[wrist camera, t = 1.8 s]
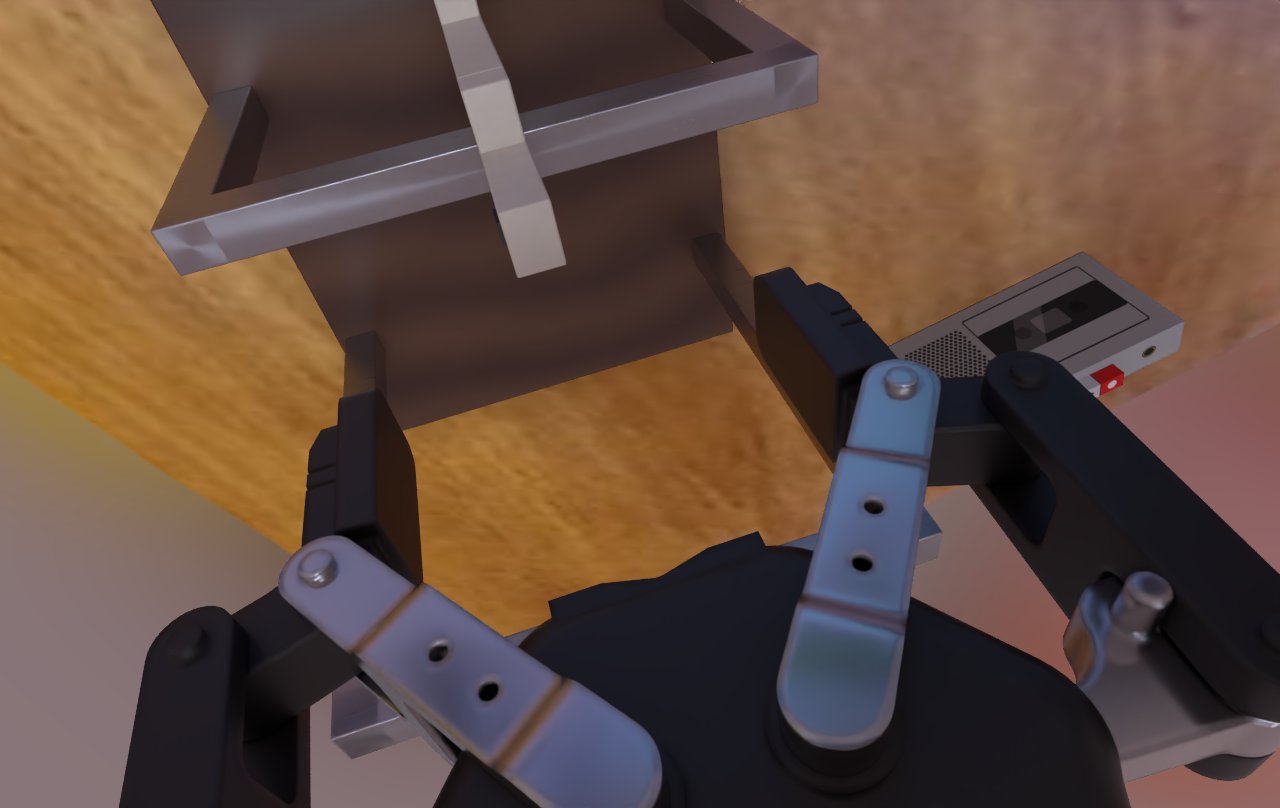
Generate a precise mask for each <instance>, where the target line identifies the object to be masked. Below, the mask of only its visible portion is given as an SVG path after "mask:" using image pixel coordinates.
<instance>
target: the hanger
mask: <svg viewBox="0 0 1280 808" xmlns="http://www.w3.org/2000/svg"><path fill="white" fill-rule="evenodd" d="M434 3H435V6H436V9H437V12H438V16H439V19H440V22H441V25H442V29H443V32H444V36H445V39H446V43H447V46H448V50H449V53H450V57H451V60H452V64H453V67H454V71H455V74H456V78H457V81H458V85H459V88H460V92H461V95H462V98H463V102H464V105H465V108H466V111H467V114H468V117H469V121H470V124H471V127H472V130H473V133H474V137H475V140H476V143H477V146H478V149H479V152H480V156H481V159H482V163H483V166H484V170H485V173H486V177H487V180H488V183H489V187H490V190H491V194H492V197H493V201H494V204H495V208H494V209H493V210H492V211H493V215H494V218H495V222H496V225H497V228H498V232H499V235H500V238H501V241H502V244H503V246H508V249H509V253H510V256H511V259H512V262H513V265H514V268H515V272H516V275H517V277H518V278H521V277H525V276H528V275H532V274H535V273H539V272H542V271H546V270H549V269H553V268H556V267H560V266H563V265H566V259H565V255H564V251H563V247H562V243H561V239H560V235H559V231H558V228H557V224H556V220H555V216H554V212H553V208H552V204H551V200H550V198H549V196H548V193H547V191H546V188H545V186H544V184H543V181H542V179H541V177H540V174H539V172H538V169H537V167H536V165H535V162H534V160H533V158H532V155H531V153H530V150H529V148H528V146H527V144H526V140H525V136H524V133H523V129H522V125H521V121H520V118H519V114H518V110H517V106H516V103H515V99H514V95H513V91H512V88H511V84H510V81H509V78H508V76H507V74H506V72H505V70H504V67H503V65H502V63H501V60H500V58H499V56H498V54H497V51H496V49H495V47H494V45H493V43H492V40H491V38H490V36H489V34H488V31H487V29H486V27H485V25H484V23H483V20H482V18H481V16H480V12H479V8H478V5H477V1H476V0H434Z"/></svg>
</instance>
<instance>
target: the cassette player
mask: <svg viewBox="0 0 1280 808" xmlns="http://www.w3.org/2000/svg"><path fill="white" fill-rule="evenodd" d="M1184 322H1185V321H1184V320H1183V319H1181V318H1180V317H1178V316H1177V315H1175V314H1174V313H1172V312H1171V311H1169V310H1168V309H1166V308H1165V307H1164V306H1162V305H1161V304H1159V303H1158V302H1156V301H1155V300H1153V299H1152V298H1150V297H1149V296H1147V295H1146V294H1144V293H1143V292H1142V291H1140V290H1139V289H1137V288H1136V287H1134V286H1133V285H1131V284H1130V283H1128V282H1127V281H1125V280H1124V279H1122V278H1121V277H1120V276H1118V275H1117V274H1115V273H1114V272H1112V271H1111V270H1109V269H1108V268H1106V267H1105V266H1103V265H1102V264H1101V263H1099V262H1098V261H1096V260H1095V259H1093V258H1092V257H1090V256H1089V255H1087V254H1086V253H1084V252H1081V253H1079V254H1077V255H1075V256H1073V257H1071V258H1069V259H1067V260H1065V261H1063V262H1061V263H1059V264H1057V265H1055V266H1053V267H1050V268H1048V269H1046V270H1044V271H1042V272H1040V273H1038V274H1036V275H1034V276H1032V277H1030V278H1028V279H1026V280H1024V281H1022V282H1020V283H1018V284H1016V285H1014V286H1012V287H1010V288H1007V289H1005V290H1003V291H1001V292H999V293H997V294H995V295H993V296H991V297H989V298H987V299H985V300H983V301H981V302H979V303H977V304H975V305H973V306H971V307H969V308H967V309H965V310H962V311H960V312H958V313H956V314H954V315H952V316H950V317H948V318H946V319H944V320H942V321H940V322H938V323H936V324H934V325H932V326H930V327H928V328H926V329H924V330H922V331H920V332H917V333H915V334H913V335H911V336H909V337H907V338H905V339H903V340H901V341H899V342H897V343H895V344H893V345H891V346H889V348H890V349H891V351H892V352H893V353H894V354H895V355H896V356H897V357H898V358H899V359H906V360H912V361H915V362H919V363H921V364H924V365H925V366H927V367H929V368H930V369H932V370H933V371H934V372H935V373H936V374H937V376H938V377H943V378H953V377H969V376H984V375H985V370H986V367H987V365H988V363H989V362H990V361H991V360H992V359H993V358H994V357H996V356H998V355H1000V354H1003V353H1006V352H1011V351H1029V352H1035V353H1040V354H1043V355H1046V356H1048V357H1050V358H1052V359H1054V360H1056V361H1057V362H1059V363H1060V364H1061V365H1062V366H1064V367H1065V368H1066V369H1067V370H1068V371H1069V372H1070V373H1071V374H1072V375H1073V376H1074V377H1075V378H1076V379H1077V380H1078V381H1079V382H1080V383H1081V384H1082V385H1083V386H1084V387H1085V388H1086V389H1087V390H1088V391H1090V392H1091V393H1092V394H1093V395H1094V396H1095V397H1098V396H1100V395H1103V394H1105V393H1107V392H1109V391H1111V390H1113V389H1115V388H1117V387H1119V386H1121V385H1123V381H1124V377H1125V376H1127V375H1129V374H1131V373H1133V372H1135V371H1137V370H1139V369H1141V368H1143V367H1146V366H1148V365H1150V364H1152V363H1154V362H1156V361H1158V360H1160V359H1162V358H1164V357H1166V356H1169V355H1171V354H1173V353H1175V352H1177V351H1179V346H1180V341H1181V337H1182V332H1183V327H1184Z"/></svg>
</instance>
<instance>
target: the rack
mask: <svg viewBox="0 0 1280 808" xmlns="http://www.w3.org/2000/svg"><path fill="white" fill-rule="evenodd" d="M476 1H477V5H478V8H479V12H480V16H481V18H482V20H483V23H484V25H485V27H486V29H487V31H488V34H489V36H490V38H491V40H492V43H493V45H494V47H495V49H496V51H497V54H498V56H499V58H500V60H501V63H502V65H503V67H504V70H505V72H506V74H507V76H508V78H509V81H510V84H511V88H512V91H513V95H514V99H515V103H516V106H517V110H518V114H519V118H520V121H521V125H522V129H523V133H524V136H525V140H526V144H527V146H528V148H529V150H530V153H531V155H532V158H533V160H534V162H535V165H536V167H537V169H538V172H539V174H540V177H541V179H542V181H543V184H544V186H545V188H546V191H547V193H548V196H549V198H550V200H551V204H552V208H553V212H554V216H555V220H556V224H557V228H558V231H559V235H560V239H561V243H562V247H563V251H564V255H565V259H566V265H563V266H560V267H556V268H553V269H549V270H546V271H542V272H539V273H535V274H532V275H528V276H525V277H521V278H518V277H517V275H516V272H515V268H514V265H513V262H512V259H511V256H510V253H509V249H508V246H503V244H502V241H501V238H500V235H499V232H498V228H497V225H496V222H495V218H494V215H493V211H492V210H493V209H494V208H495V204H494V201H493V197H492V194H491V190H490V187H489V183H488V180H487V177H486V173H485V170H484V166H483V163H482V159H481V156H480V152H479V149H478V146H477V143H476V140H475V137H474V133H473V130H472V127H471V124H470V121H469V117H468V114H467V111H466V108H465V105H464V102H463V98H462V95H461V92H460V88H459V85H458V81H457V78H456V74H455V71H454V67H453V64H452V60H451V57H450V53H449V50H448V46H447V43H446V39H445V36H444V32H443V29H442V25H441V22H440V19H439V16H438V12H437V9H436V6H435V3H434V0H151V2H152V4H153V6H154V8H155V9H156V11H157V13H158V15H159V17H160V18H161V20H162V22H163V24H164V26H165V28H166V29H167V31H168V33H169V35H170V37H171V38H172V40H173V42H174V44H175V46H176V48H177V49H178V51H179V53H180V55H181V57H182V58H183V60H184V62H185V64H186V66H187V67H188V69H189V71H190V73H191V75H192V77H193V78H194V80H195V82H196V84H197V86H198V87H199V89H200V91H201V93H202V95H203V96H204V98H205V100H206V102H207V104H208V106H209V107H208V109H207V111H206V113H205V115H204V118H203V120H202V122H201V124H200V126H199V128H198V131H197V133H196V135H195V137H194V139H193V141H192V144H191V146H190V148H189V150H188V152H187V154H186V157H185V159H184V161H183V163H182V165H181V167H180V170H179V172H178V174H177V176H176V178H175V180H174V183H173V185H172V187H171V189H170V191H169V193H168V196H167V198H166V200H165V202H164V204H163V206H162V208H161V209H160V212H159V214H158V216H157V218H156V220H155V222H154V225H153V227H152V229H151V233H152V235H153V236H154V238H155V239H156V241H157V242H158V243H159V245H160V246H161V248H162V249H163V251H164V252H165V254H166V255H167V257H168V258H169V260H170V261H171V262H172V264H173V265H174V267H175V268H176V270H177V271H178V273H179V274H180V275H181V276H183V275H187V274H190V273H194V272H198V271H201V270H205V269H209V268H212V267H216V266H220V265H223V264H227V263H231V262H234V261H238V260H242V259H245V258H249V257H253V256H256V255H260V254H264V253H267V252H271V251H275V250H278V249H282V248H286V247H287V249H288V251H289V252H290V254H291V256H292V258H293V260H294V262H295V263H296V265H297V267H298V269H299V271H300V272H301V274H302V276H303V278H304V280H305V282H306V283H307V285H308V287H309V289H310V291H311V292H312V294H313V296H314V298H315V300H316V301H317V303H318V305H319V307H320V309H321V311H322V312H323V314H324V316H325V318H326V320H327V321H328V323H329V325H330V327H331V329H332V330H333V332H334V334H335V336H336V338H337V340H338V341H339V343H340V345H341V347H342V349H343V350H344V352H345V367H344V394H343V397H346V396H349V395H353V394H356V393H359V392H363V391H366V390H369V389H373V388H378V389H379V390H380V391H381V392H382V394H383V396H384V398H385V400H386V401H387V403H388V405H389V407H390V409H391V411H392V413H393V415H394V417H395V418H396V420H397V422H398V424H399V426H400V428H401V430H402V431H403V430H407V429H410V428H413V427H417V426H420V425H423V424H426V423H430V422H433V421H436V420H440V419H443V418H446V417H450V416H453V415H456V414H460V413H463V412H466V411H470V410H473V409H476V408H480V407H483V406H486V405H490V404H493V403H496V402H500V401H503V400H506V399H510V398H513V397H516V396H519V395H523V394H526V393H529V392H533V391H536V390H539V389H543V388H546V387H549V386H553V385H556V384H559V383H563V382H566V381H569V380H573V379H576V378H579V377H583V376H586V375H589V374H593V373H596V372H599V371H602V370H606V369H609V368H612V367H616V366H619V365H622V364H626V363H629V362H632V361H636V360H639V359H642V358H646V357H649V356H652V355H656V354H659V353H662V352H666V351H669V350H672V349H676V348H679V347H682V346H685V345H689V344H692V343H695V342H699V341H702V340H705V339H709V338H712V337H715V336H719V335H722V334H725V333H729V332H732V331H733V323H732V321H733V322H734V324H735V325H736V327H737V328H738V330H739V331H740V333H741V334H742V336H743V337H744V339H745V341H746V342H747V344H748V345H749V347H750V348H751V350H752V351H753V353H754V354H755V356H756V357H757V359H758V360H759V362H760V363H761V365H762V366H763V368H764V369H765V371H766V373H767V374H768V376H769V377H770V379H771V380H772V382H773V383H774V385H775V386H776V388H777V389H778V391H779V392H780V394H781V395H782V397H783V398H784V400H785V402H786V403H787V405H788V406H789V408H790V409H791V411H792V412H793V414H794V415H795V417H796V418H797V420H798V421H799V423H800V424H801V426H802V427H803V429H804V430H805V432H806V434H807V435H808V437H809V438H810V440H811V441H812V443H813V444H814V446H815V447H816V449H817V450H818V452H819V453H820V455H821V456H822V458H823V459H824V461H825V463H826V464H827V466H828V467H829V469H830V470H831V472H832V473H833V474H834V470H835V467H836V463H837V462H834V463H833V462H832V461H831V459H830V458H829V457H828V455H827V454H826V452H825V451H824V449H823V448H822V446H821V445H820V443H819V442H818V440H817V439H816V437H815V436H814V434H813V433H812V431H811V430H810V428H809V427H808V425H807V424H806V422H805V421H804V419H803V418H802V416H801V415H800V413H799V412H798V410H797V409H796V407H795V406H794V404H793V403H792V401H791V400H790V398H789V397H788V395H787V394H786V392H785V391H784V389H783V388H782V386H781V385H780V383H779V382H778V380H777V379H776V377H775V376H774V374H773V373H772V372H771V370H770V369H769V367H768V366H767V364H766V363H765V361H764V359H763V357H762V355H761V352H760V349H759V346H758V342H757V337H756V324H755V307H754V290H753V282H754V279H753V278H752V277H751V275H750V274H749V273H748V271H747V270H746V269H745V267H744V266H743V265H742V263H741V262H740V261H739V259H738V258H737V257H736V255H735V254H734V253H733V251H732V250H731V249H730V247H729V246H728V245H727V243H726V239H725V227H724V215H723V203H722V191H721V179H720V167H719V155H718V143H717V131H716V130H719V129H723V128H727V127H730V126H734V125H738V124H741V123H745V122H749V121H752V120H756V119H760V118H763V117H767V116H771V115H774V114H778V113H782V112H786V111H789V110H793V109H797V108H800V107H804V106H808V105H811V104H815V103H817V102H818V54H817V53H816V52H814V51H812V50H811V49H809V48H808V47H806V46H805V45H803V44H802V43H800V42H799V41H797V40H795V39H794V38H792V37H791V36H789V35H788V34H786V33H785V32H783V31H781V30H780V29H778V28H777V27H775V26H774V25H772V24H771V23H769V22H768V21H766V20H764V19H763V18H761V17H760V16H758V15H757V14H755V13H754V12H752V11H750V10H749V9H747V8H746V7H744V6H743V5H741V4H740V3H738V2H737V1H735V0H476ZM711 60H712V61H713V62H714V63H712V64H711ZM942 534H943V532H942V530H941V529H940V528H939V526H938V525H937V524H936V522H935V521H934V520H933V518H932V517H931V516H930V514H929V513H928V512H927V510H926V509H925V508H923V515H922V522H921V529H920V535H919V542H918V549H917V556H916V562H915V566H916V565H919V564H922V563H925V562H927V561H931V560H933V559H936V558H937V557H938V553H939V547H940V543H941V538H942ZM817 536H818V533H815V534H812V535H809V536H806V537H803V538H800V539H797V540H794V541H791V542H788V543H785V544H782V545H779V546H793V547H800V548H805V549H809V550H813V551H814V547H815V543H816V540H817ZM539 626H540V625H539ZM539 626H536V627H533V628H530V629H527V630H524V631H521V632H518V633H515V634H512V635H509V636H506V637H505V638H506V639H508V640H509V641H510V642H512V643H513V644H515V645H516V646H519V644H520V643H521V642H522V641H523V640H524V639H525V638H526V637H527V636H528V635H529V634H530V633H531V632H532V631H533V630H535V629H536V628H537V627H539ZM418 736H420V735H419V734H418V733H417V732H416V731H414V730H413V729H412V728H411V727H410V726H409V725H408V724H407V723H406V722H404V721H403V720H402V719H401V718H400V717H399V716H398V715H396V714H395V713H394V712H393V711H392V710H391V709H389V708H388V707H387V706H386V705H385V704H384V703H383V702H381V701H380V700H379V699H378V698H377V697H376V696H375V695H373V694H372V693H371V692H370V691H369V690H368V689H367V688H365V687H364V686H363V685H362V684H361V683H360V682H359V681H357V680H356V679H355V678H352V679H351V680H349V681H348V682H346V683H345V684H343V685H342V686H340V687H339V688H337V689H336V690H334V691H332V718H331V741H332V742H333V743H334V744H336V745H337V746H338V747H339V748H340V749H341V750H342V751H343V752H344V753H345V754H346V755H347V756H348V757H349V758H350V759H354V758H357V757H360V756H363V755H366V754H369V753H372V752H374V751H377V750H380V749H383V748H386V747H389V746H392V745H395V744H397V743H400V742H403V741H406V740H409V739H412V738H415V737H418Z"/></svg>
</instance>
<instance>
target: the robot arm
mask: <svg viewBox="0 0 1280 808" xmlns="http://www.w3.org/2000/svg"><path fill="white" fill-rule="evenodd" d="M753 290H754V307H755V324H756V337H757V342H758V346H759V349H760V352H761V355H762V357H763V359H764V361H765V363H766V364H767V366H768V367H769V369H770V370H771V372H772V373H773V374H774V376H775V377H776V379H777V380H778V382H779V383H780V385H781V386H782V388H783V389H784V391H785V392H786V394H787V395H788V397H789V398H790V400H791V401H792V403H793V404H794V406H795V407H796V409H797V410H798V412H799V413H800V415H801V416H802V418H803V419H804V421H805V422H806V424H807V425H808V427H809V428H810V430H811V431H812V433H813V434H814V436H815V437H816V439H817V440H818V442H819V443H820V445H821V446H822V448H823V449H824V451H825V452H826V454H827V455H828V457H829V458H830V459H831V461H832V462H833V463H834V462H837V463H836V467H835V470H834V474H833V478H832V482H831V486H830V490H829V493H828V497H827V501H826V505H825V509H824V513H823V517H822V520H821V524H820V528H819V532H818V536H817V540H816V543H815V547H814V551H813V550H809V549H805V548H800V547H793V546H765V544H764V542H763V540H762V538H761V536H760V534H759V532H758V531H757V532H754V533H751V534H748V535H745V536H742V537H739V538H736V539H733V540H730V541H727V542H724V543H721V544H718V545H715V546H712V547H709V548H707V549H705V550H703V551H702V552H700V553H699V554H697V555H695V556H694V557H692V558H690V559H689V560H687V561H685V562H684V563H682V564H681V565H679V566H677V567H676V568H674V569H672V570H671V571H669V572H667V573H666V574H664V575H662V576H660V577H657V578H650V579H640V580H630V581H620V582H610V583H601V584H598V585H595V586H592V587H589V588H586V589H583V590H580V591H577V592H574V593H571V594H568V595H565V596H562V597H559V598H556V599H553V600H550V601H548V602H549V607H550V612H551V616H552V618H550V619H549V620H547V621H545V622H544V623H542V624H541V625H540V626H539V627H537V628H536V629H535V630H533V631H532V632H531V633H530V634H529V635H528V636H527V637H526V638H525V639H524V640H523V641H522V642H521V643H520V644H519V646H516V645H515V644H513V643H512V642H510V641H509V640H508V639H506V638H505V637H503V636H502V635H500V634H499V633H498V632H496V631H495V630H493V629H492V628H490V627H489V626H488V625H486V624H485V623H483V622H482V621H480V620H479V619H478V618H476V617H475V616H473V615H472V614H470V613H469V612H468V611H466V610H465V609H463V608H462V607H460V606H459V605H458V604H456V603H455V602H453V601H452V600H450V599H449V598H448V597H446V596H445V595H443V594H442V593H440V592H439V591H438V590H436V589H435V588H433V587H432V586H430V585H428V584H427V583H424V582H423V569H422V555H421V541H420V527H419V513H418V499H417V485H416V471H415V463H414V459H413V455H412V452H411V449H410V446H409V444H408V441H407V439H406V437H405V435H404V433H403V432H402V430H401V428H400V426H399V424H398V422H397V420H396V418H395V417H394V415H393V413H392V411H391V409H390V407H389V405H388V403H387V401H386V400H385V398H384V396H383V394H382V392H381V391H380V390H379V389H378V388H373V389H369V390H366V391H363V392H359V393H356V394H353V395H349V396H346V397H342V398H340V399H339V403H338V424H337V425H336V426H333V427H330V428H326V429H323V430H321V431H320V433H319V435H318V437H317V438H316V440H315V442H314V444H313V445H312V447H311V449H310V451H309V461H308V473H309V474H308V475H307V485H306V487H307V491H306V497H305V510H304V522H303V534H302V546H301V548H300V549H299V550H297V551H296V552H295V553H294V554H293V555H292V556H291V557H290V558H289V560H288V561H287V562H286V563H285V565H284V567H283V568H282V571H281V573H280V576H279V580H278V586H277V587H276V588H274V589H273V590H272V591H270V592H269V593H267V594H266V595H264V596H263V597H261V598H259V599H258V600H256V601H254V602H253V603H251V604H249V605H248V606H246V607H244V608H243V609H241V610H239V611H237V612H236V613H234V614H233V615H230V614H229V613H228V612H227V611H226V610H225V609H223V608H220V607H217V606H205V607H200V608H196V609H193V610H191V611H189V612H186V613H185V614H183V615H181V616H179V617H178V618H177V619H175V620H174V621H172V622H171V623H170V624H169V625H168V626H166V627H165V628H164V629H163V630H162V631H161V632H160V633H159V635H158V636H157V637H156V639H155V640H154V642H153V643H152V645H151V646H150V648H149V651H148V653H147V656H146V660H145V665H144V671H143V677H142V682H141V688H140V693H139V698H138V704H137V710H136V715H135V721H134V727H133V732H132V738H131V743H130V749H129V755H128V760H127V765H126V771H125V776H124V782H123V788H122V793H121V799H120V804H119V808H311V805H310V803H311V800H310V799H311V797H310V706H311V705H313V704H314V703H316V702H317V701H319V700H320V699H322V698H323V697H325V696H326V695H328V694H329V693H331V692H332V691H334V690H336V689H337V688H339V687H340V686H342V685H343V684H345V683H346V682H348V681H349V680H351V679H352V678H355V679H356V680H357V681H359V682H360V683H361V684H362V685H363V686H364V687H365V688H367V689H368V690H369V691H370V692H371V693H372V694H373V695H375V696H376V697H377V698H378V699H379V700H380V701H381V702H383V703H384V704H385V705H386V706H387V707H388V708H389V709H391V710H392V711H393V712H394V713H395V714H396V715H398V716H399V717H400V718H401V719H402V720H403V721H404V722H406V723H407V724H408V725H409V726H410V727H411V728H412V729H413V730H414V731H416V732H417V733H418V734H419V735H420V736H421V737H422V738H423V739H424V740H425V741H426V742H427V743H428V744H429V745H430V746H431V747H432V748H433V749H434V750H435V751H436V752H437V753H438V754H439V755H440V756H441V757H442V758H443V759H444V760H445V761H446V762H447V763H449V764H450V765H451V766H452V767H453V768H452V770H451V772H450V774H449V776H448V778H447V780H446V782H445V784H444V786H443V788H442V790H441V792H440V794H439V796H438V798H437V800H436V802H435V804H434V806H433V808H1131V806H1130V802H1129V799H1128V795H1127V792H1126V788H1125V784H1124V783H1126V782H1130V781H1133V780H1136V779H1139V778H1143V777H1146V776H1149V775H1153V774H1156V773H1159V772H1163V771H1166V770H1169V769H1172V768H1176V767H1179V766H1182V765H1184V766H1185V767H1187V768H1189V769H1190V770H1192V771H1194V772H1196V773H1198V774H1200V775H1202V776H1206V777H1209V778H1212V779H1217V780H1224V781H1232V780H1239V779H1242V778H1245V777H1247V776H1249V775H1250V774H1252V773H1253V772H1254V771H1255V770H1256V769H1257V768H1258V767H1259V766H1260V765H1261V764H1262V763H1264V762H1265V761H1266V760H1267V759H1268V758H1269V757H1270V756H1271V755H1272V754H1273V753H1274V752H1275V751H1276V750H1277V749H1278V748H1280V574H1279V573H1278V572H1276V570H1275V569H1273V568H1272V567H1271V566H1270V565H1269V564H1268V563H1267V562H1266V561H1265V560H1264V559H1263V558H1262V557H1261V556H1260V555H1259V554H1258V553H1257V552H1256V551H1255V550H1254V549H1253V548H1252V547H1251V546H1249V545H1248V544H1247V543H1246V542H1245V541H1244V540H1243V539H1242V538H1241V537H1240V536H1239V535H1238V534H1237V533H1236V532H1235V531H1234V530H1233V529H1232V528H1231V527H1230V526H1229V525H1228V524H1227V523H1226V522H1224V520H1223V519H1221V518H1220V517H1219V516H1218V515H1217V514H1216V513H1215V512H1214V511H1213V510H1212V509H1211V508H1210V507H1209V506H1208V505H1207V504H1206V503H1205V502H1204V501H1203V500H1202V499H1201V498H1200V497H1199V496H1198V495H1197V494H1195V493H1194V492H1193V491H1192V490H1191V489H1190V488H1189V487H1188V486H1187V485H1186V484H1185V483H1184V482H1183V481H1182V480H1181V479H1180V478H1179V477H1178V476H1177V475H1176V474H1175V473H1174V472H1173V471H1172V470H1170V468H1169V467H1167V466H1166V465H1165V464H1164V463H1163V462H1162V461H1161V460H1160V459H1159V458H1158V457H1157V456H1156V455H1155V454H1154V453H1153V452H1152V451H1151V450H1150V449H1149V448H1148V447H1147V446H1146V445H1145V444H1144V443H1143V442H1141V441H1140V440H1139V439H1138V438H1137V437H1136V436H1135V435H1134V434H1133V433H1132V432H1131V431H1130V430H1129V429H1128V428H1127V427H1126V426H1125V425H1124V424H1123V423H1122V422H1121V421H1120V420H1119V419H1117V417H1116V416H1114V415H1113V414H1112V413H1111V412H1110V411H1109V410H1108V409H1107V408H1106V407H1105V406H1104V405H1103V404H1102V403H1101V402H1100V401H1099V400H1098V399H1097V398H1096V397H1095V396H1094V395H1093V394H1092V393H1091V392H1090V391H1088V390H1087V389H1086V388H1085V387H1084V386H1083V385H1082V384H1081V383H1080V382H1079V381H1078V380H1077V379H1076V378H1075V377H1074V376H1073V375H1072V374H1071V373H1070V372H1069V371H1068V370H1067V369H1066V368H1065V367H1064V366H1062V365H1061V364H1060V363H1059V362H1057V361H1056V360H1054V359H1052V358H1050V357H1048V356H1046V355H1043V354H1040V353H1035V352H1029V351H1011V352H1006V353H1003V354H1000V355H998V356H996V357H994V358H993V359H992V360H991V361H990V362H989V363H988V365H987V367H986V370H985V375H984V376H969V377H953V378H943V377H938V376H937V374H936V373H935V372H934V371H933V370H932V369H930V368H929V367H927V366H925V365H924V364H921V363H919V362H915V361H912V360H906V359H899V358H898V357H897V356H896V355H895V354H894V353H893V352H892V351H891V349H890V348H889V347H888V346H887V345H886V344H885V343H884V342H883V341H882V339H881V338H880V337H879V336H878V335H877V334H876V333H875V332H874V331H873V329H872V328H871V327H870V326H869V325H868V324H867V323H866V322H865V321H863V320H862V317H861V316H860V315H859V314H858V313H857V312H856V311H855V309H854V310H853V309H852V306H851V305H850V304H849V303H848V302H847V301H846V299H845V298H844V297H843V296H842V295H841V294H840V293H839V292H837V291H835V290H833V289H831V288H829V287H827V286H825V285H823V284H821V283H819V282H818V283H814V284H811V285H808V286H807V285H806V284H805V283H804V282H803V281H802V280H801V278H800V277H799V276H798V275H797V274H796V273H795V271H794V270H793V269H792V268H790V267H786V268H782V269H779V270H775V271H772V272H769V273H765V274H762V275H758V276H756V277H755V278H754V282H753ZM952 485H970V487H971V488H972V489H973V491H974V492H975V493H976V495H977V496H978V497H979V499H980V500H981V501H982V503H983V504H984V506H985V507H986V508H987V510H988V511H989V512H990V514H991V515H992V516H993V518H994V519H995V520H996V522H997V523H998V524H999V526H1000V527H1001V528H1002V530H1003V531H1004V532H1005V534H1006V535H1007V537H1008V538H1009V539H1010V540H1011V542H1012V543H1013V544H1014V546H1015V547H1016V549H1017V550H1018V551H1019V552H1020V554H1021V555H1022V557H1023V558H1024V559H1025V561H1026V562H1027V563H1028V565H1029V566H1030V567H1031V569H1032V570H1033V572H1034V573H1035V574H1036V576H1037V577H1038V578H1039V580H1040V581H1041V582H1042V584H1043V585H1044V586H1045V588H1046V589H1047V590H1048V592H1049V593H1050V594H1051V596H1052V597H1053V599H1054V600H1055V601H1056V603H1057V604H1058V605H1059V607H1060V608H1061V609H1062V611H1063V612H1064V613H1065V615H1066V616H1067V617H1068V619H1069V620H1070V621H1069V623H1068V625H1067V628H1066V630H1065V632H1064V635H1063V650H1064V652H1065V655H1066V658H1067V660H1068V662H1069V664H1070V666H1071V667H1072V669H1073V671H1074V675H1075V677H1076V684H1074V683H1073V682H1072V681H1070V679H1069V678H1068V677H1066V676H1065V675H1064V674H1062V673H1061V672H1059V671H1058V670H1057V669H1055V668H1053V667H1052V666H1050V665H1048V664H1047V663H1045V662H1043V661H1042V660H1040V659H1038V658H1036V657H1034V656H1032V655H1030V654H1028V653H1025V652H1024V651H1022V650H1019V649H1017V648H1015V647H1013V646H1011V645H1009V644H1007V643H1005V642H1003V641H1001V640H999V639H997V638H995V637H993V636H991V635H989V634H987V633H985V632H983V631H981V630H978V629H976V628H974V627H972V626H970V625H968V624H966V623H964V622H962V621H960V620H958V619H956V618H954V617H952V616H950V615H948V614H946V613H944V612H941V611H939V610H938V609H936V608H933V607H931V606H929V605H927V604H925V603H923V602H921V601H919V600H917V599H915V598H913V597H911V589H912V582H913V576H914V569H915V562H916V556H917V549H918V542H919V535H920V529H921V522H922V515H923V508H924V502H925V495H926V488H927V487H928V486H952Z"/></svg>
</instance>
